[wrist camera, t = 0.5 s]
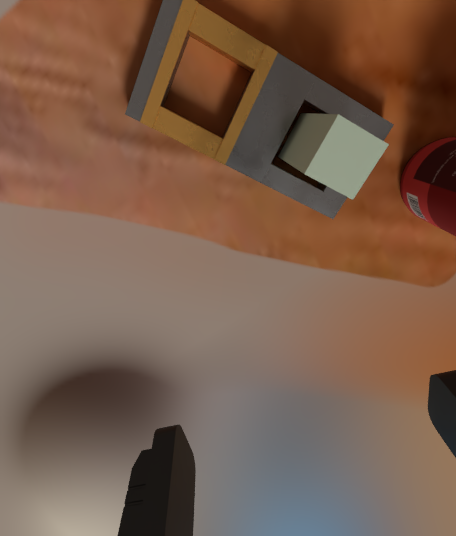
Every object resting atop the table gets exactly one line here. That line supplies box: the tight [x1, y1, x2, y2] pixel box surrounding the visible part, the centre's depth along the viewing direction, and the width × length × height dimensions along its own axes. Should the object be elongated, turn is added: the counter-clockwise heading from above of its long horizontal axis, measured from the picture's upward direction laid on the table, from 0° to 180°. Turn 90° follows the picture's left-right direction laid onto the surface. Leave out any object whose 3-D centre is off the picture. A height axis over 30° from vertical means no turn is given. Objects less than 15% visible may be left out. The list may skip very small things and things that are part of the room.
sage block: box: [278, 113, 389, 200], centre depth 26 cm, size 4×4×9 cm
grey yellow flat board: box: [125, 0, 393, 219], centre depth 27 cm, size 9×20×2 cm, turn 63°
